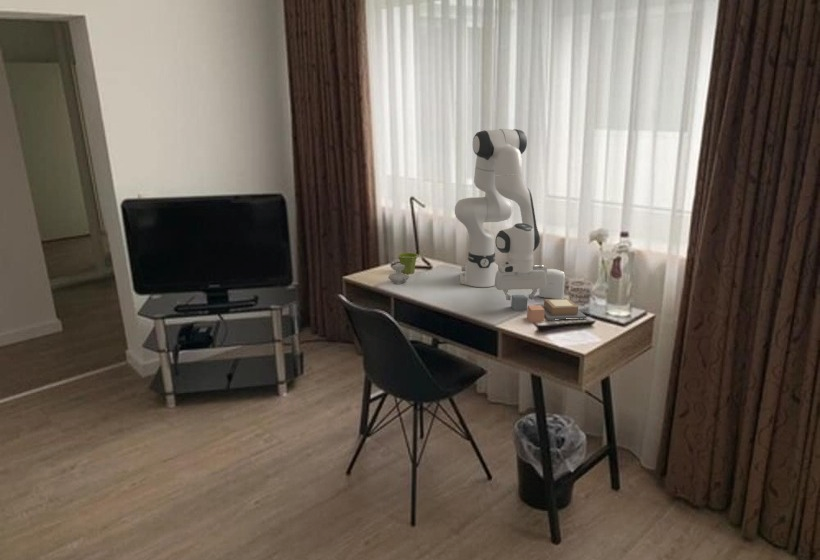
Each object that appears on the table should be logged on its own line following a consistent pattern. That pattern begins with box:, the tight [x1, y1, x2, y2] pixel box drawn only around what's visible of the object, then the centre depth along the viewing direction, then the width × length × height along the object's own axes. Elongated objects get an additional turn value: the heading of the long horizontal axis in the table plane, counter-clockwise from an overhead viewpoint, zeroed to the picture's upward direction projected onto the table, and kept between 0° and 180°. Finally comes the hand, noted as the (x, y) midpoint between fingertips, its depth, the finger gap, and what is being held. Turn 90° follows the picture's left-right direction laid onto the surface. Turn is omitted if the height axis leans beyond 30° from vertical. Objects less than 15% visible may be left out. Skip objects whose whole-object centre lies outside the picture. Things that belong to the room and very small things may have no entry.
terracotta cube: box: [526, 304, 545, 323], centre depth 226 cm, size 5×5×5 cm
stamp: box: [388, 263, 410, 285], centre depth 270 cm, size 9×7×8 cm
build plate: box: [537, 298, 587, 321], centre depth 233 cm, size 15×15×4 cm
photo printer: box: [538, 268, 566, 299], centre depth 250 cm, size 10×4×12 cm, turn 66°
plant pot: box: [397, 252, 419, 275], centre depth 285 cm, size 9×9×9 cm
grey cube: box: [510, 294, 529, 312], centre depth 238 cm, size 5×5×5 cm
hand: (519, 299), depth 237 cm, fingers open, 8 cm apart
